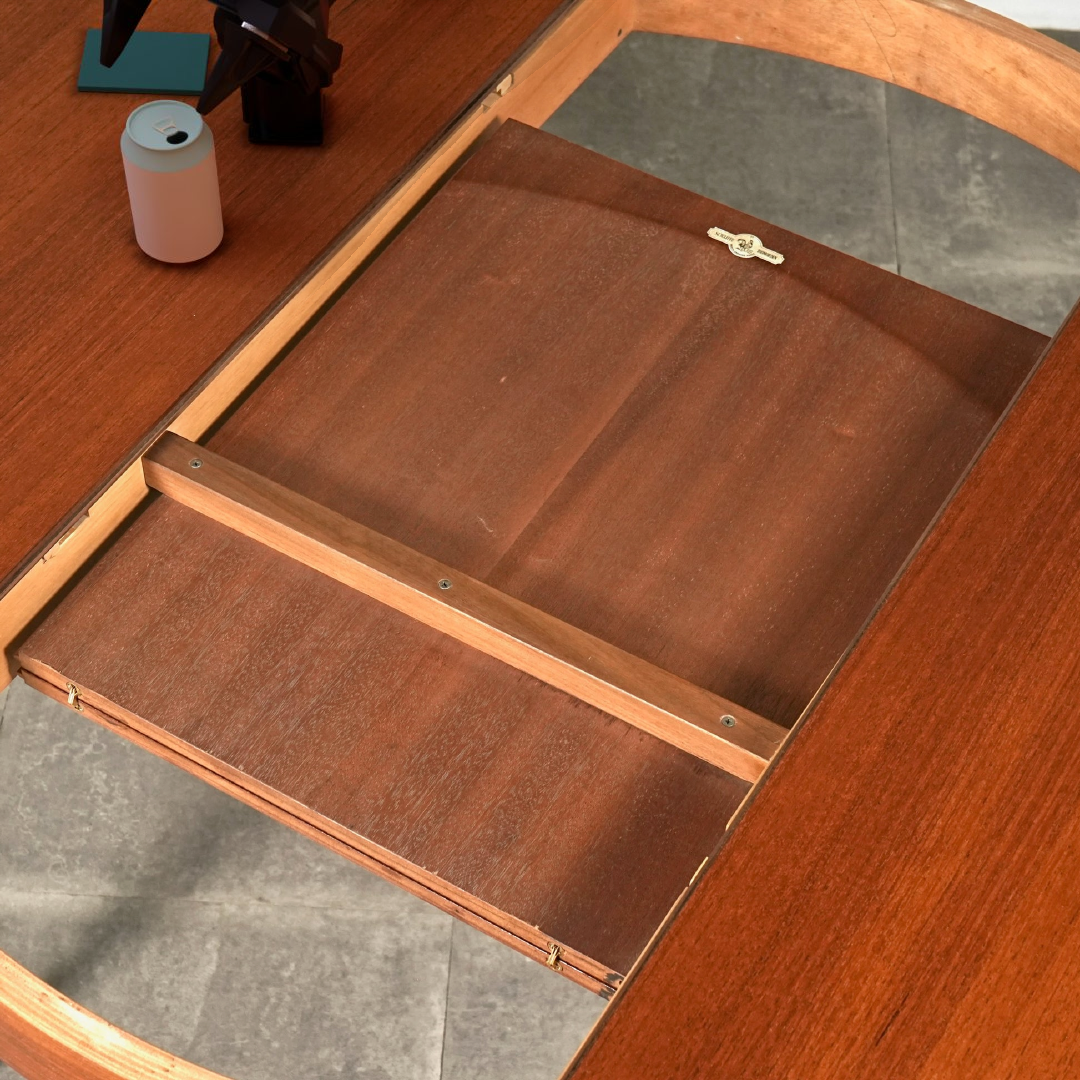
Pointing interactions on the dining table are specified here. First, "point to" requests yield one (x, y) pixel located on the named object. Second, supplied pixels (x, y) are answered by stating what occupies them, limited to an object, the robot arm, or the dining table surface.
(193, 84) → the teal mat
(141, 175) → the can
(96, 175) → the dining table surface
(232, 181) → the dining table surface
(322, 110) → the robot arm
